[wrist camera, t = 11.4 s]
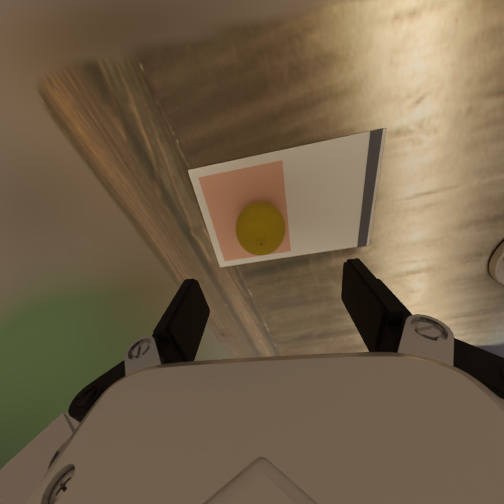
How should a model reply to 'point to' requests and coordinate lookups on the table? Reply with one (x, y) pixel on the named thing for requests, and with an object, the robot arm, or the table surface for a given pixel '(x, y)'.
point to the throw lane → (295, 195)
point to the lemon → (260, 228)
